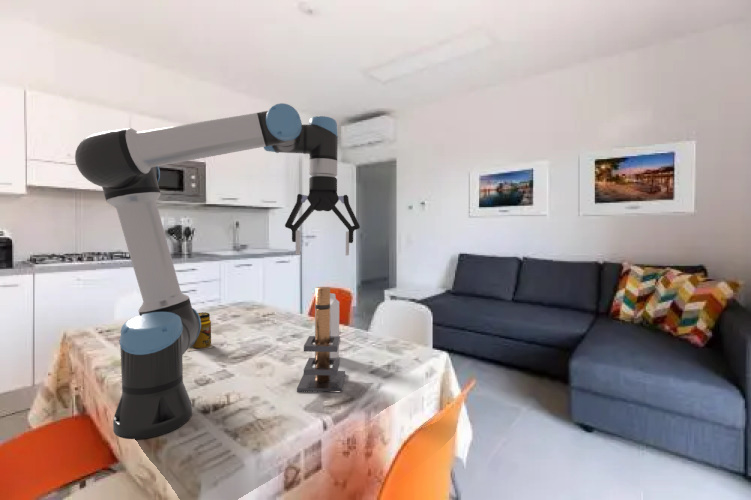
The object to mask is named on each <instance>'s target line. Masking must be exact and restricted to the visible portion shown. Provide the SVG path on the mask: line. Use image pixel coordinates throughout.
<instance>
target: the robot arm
mask: <svg viewBox="0 0 751 500" xmlns="http://www.w3.org/2000/svg"><path fill="white" fill-rule="evenodd" d="M338 140H339V134H338V123H337V121H336V119H334V118H333V117H329V116H325V115H320V116H318V115H317V116H313V117H311V118H310V119H309V123H308V124H302V119H301V117H300V114H299V112H298V110H296V109H295V107H293V105H291V104H288V103H277V104H273V105H272V106H271V107H270V108H269V109H268V110H264V111H261V112H260V111H259V112H254V113H249V114H241V115H236V116H229V117H223V118H218V119H217V118H216V119H211V120H204V121H198V122H193V123H191V122H190V123H186V124H181V125H180V124H179V125H173V126H168V127H167V126H166V127H162V128H161V127H160V128H155V129H149V130H142V131H137V130H136V129H134V128H131V127H127V128H122V129H115V130H108V131H102V132H98V133H93V134H91V135H89V136H87V137H85V138H84V139H82V141H80V142H79V144H78V145H77V148H76V150H75V154H74V161H75V165H76V167H77V170H78V171H79V172H80V175H81V176H82V177H84V178H85V179H86V180H87V181H88V182H90V183H91V184H94V185H96V186H98V187H101V188H102V192H103V195H104V198H105V201H106V204H107V203H108V204H109V205H111V206H113V207H114V208H115V210H116V213H117V215H118V219H119V223H120V226H121V230H122V233H123V236H124V240H125V243H126V247H127V250H128V254H129V256H130V260H131V264H132V266H133V271H134V275H135V277H136V278H135V279H136V281H137V284H138V287H139V291H140V294H141V295H140V296H141V298H142V304H141V306H140V307H139V308H138V315H136V316H133V317H131V318H130V319H128V320H126V321H125V322H124V324H123V325H121V329H120V336H119V346H120V366H121V367H120V370H121V373H120V374H121V396H120V399H119V402H118V405H117V408H116V410H115V413H114V416H113V420H112V422H113V423H112V425H113V426H112V427H113V433H114V435H115V436H116V437H118V438H122V439H126V440H141V439H142V440H143V439H150V438H155V437H158V436H160V435H164V434H167V433H169V432H173V431H174V430H176V429H178V428H180V427H182V426H183V425H184V424H186V423H187V422H188V421H189V420H190V419H191V417H192V414H193V407H192V406H193V405H192V401H191V399H190V396H189V393H188V391H187V389H186V386H185V384H184V380H183V379H184V376H183V374H184V373H183V372H184V371H183V355H184V354H185V353H186V352H188V351H187V349H188V348H189V347H190V346H191V345H192V344H193V343H194V342H195V340H196V339H197V337H198V335H199V333H200V329H201V320H200V316H199V314H198V313H199V312H198V311H197V310H196V309H195V308H193V305H192V303H191V300H190V297H189V295H187V294H185V293H183V292H182V291H181V288H180V283H179V280H178V276H177V272H176V269H175V266H174V262H173V259H172V254H171V252H170V248H169V244H168V239H167V238H166V237H167V236H166V233H165V229H164V226H163V223H162V219H161V215H160V211H159V209H158V204H157V201H158V200H159V198H160V196H161V190H160V186H159V182H160V178H161V171H160V167H162V166H166V165H172V164H173V165H174V164H178V163H184V162H188V161H194V160H199V159H205V158H211V157H215V156H221V155H226V154H232V153H236V152H242V151H249V150H253V149H259V148H263V149H264V151H266V152H269V153H271V152H272V153H276V154H278V153H284V154H286V153H287V154H304V155H305V154H307V155H309V162H308V164H309V165H308V166H309V168H308V171H309V172H308V173H309V175H310V177H309V179H308V180H309V181H308V184H309V187H308V188H309V189H308V190H309V192H308V194H307V195H305V194H301V193H298V194H297V196H296V203H295V204H294V206H293V209H292V210H291V212H290V214H289V216H288V218H287V221H286V223H285V224H284V227H285V228H287V229H289V230H291V242H292V243H295V255H296V256H297V255H300V254H301V230H300V229H299V228H301V226H302V225H303V223H304V222H305V221H306V220H307V219H308V217H309V216H310V215H311V214H312V213H314V211H316V212H322V211H324V212H330V211H332V212H333V213H334V214H335V216H337V217H338V219H339V220H340V221H341V223H342V224H343V225H344V226H345V227H346V229H347V231H345V256H349V255H350V244H353V242H354V232H355V231H356V230H359V229H360V227H361V226H360V223H359V221H358V219H357V217H356V215H355V213H354V211H353V209H352V206H351V204H350V201H349V196H348V195H347V194H344V195H338V179H337V178H336V177H337V176H338V146H339V145H338V144H339V141H338ZM306 201H308V202H309V204H310V205H309V206H308V207H307V209H306V210H305V211H304V212H303V213H302V214H301V216H300V217H299V218H298V219H297V220H296V217H297V216H298V214H299V211H300V210H301V208H302V205H303V203H305V202H306ZM339 201H340V202H341V204H343V205H344V207H345V209H346V211H347V213H348V215H349V217H350V220H351V222H352V224H353V225H352V224H351V223H350V222H349V220H348V219H347V218H346V217H345V216H344V215H343V214H342V212H341V211H340V210H339V208H337V206H336V204H337V203H338V202H339ZM295 220H296V221H295ZM293 223H294V224H293ZM298 229H299V230H298Z"/></svg>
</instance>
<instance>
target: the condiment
mask: <svg viewBox="0 0 751 500" xmlns="http://www.w3.org/2000/svg"><path fill="white" fill-rule="evenodd" d="M197 313H198V314H199V316H200V320H201V329H200V333H199V335H198V337H197V339H196V340H195V342H194V343H193V344H192V345H191V346H190V347H189V348H188V349H187V351H186V352H193V351H199V350H207V349H212V348H213V349H214V345H213V344H212V321H211V318H210V316H211V315H210V313H209V312H204V311H203V312H202V311H201V312H197Z"/></svg>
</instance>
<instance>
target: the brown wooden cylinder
mask: <svg viewBox="0 0 751 500" xmlns="http://www.w3.org/2000/svg"><path fill="white" fill-rule="evenodd" d="M330 293H331V287H329V286H316V287H315V303H314V336H315V343H314V344H328V345H330ZM314 358H315V365H314V368H331V365H330V352H314ZM329 377H330V375H315V380H316V381H318V382H326V381H328V380H329Z"/></svg>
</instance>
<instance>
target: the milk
mask: <svg viewBox="0 0 751 500" xmlns="http://www.w3.org/2000/svg"><path fill="white" fill-rule="evenodd" d="M336 295H337V294H336V293H331V292H330V336H340V301H339V300H338V299H337V298H336ZM332 344H333V343H330V345H332ZM338 356H340V346H339V347H338V351H337V352H330V358H339V357H338Z"/></svg>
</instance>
